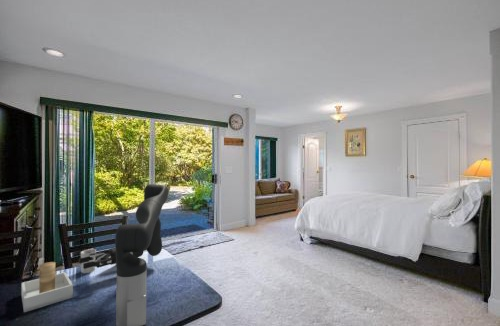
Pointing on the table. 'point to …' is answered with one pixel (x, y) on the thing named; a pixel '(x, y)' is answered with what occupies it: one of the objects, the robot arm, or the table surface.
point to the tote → (36, 300)
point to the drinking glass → (87, 270)
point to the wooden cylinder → (47, 277)
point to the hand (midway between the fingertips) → (81, 263)
